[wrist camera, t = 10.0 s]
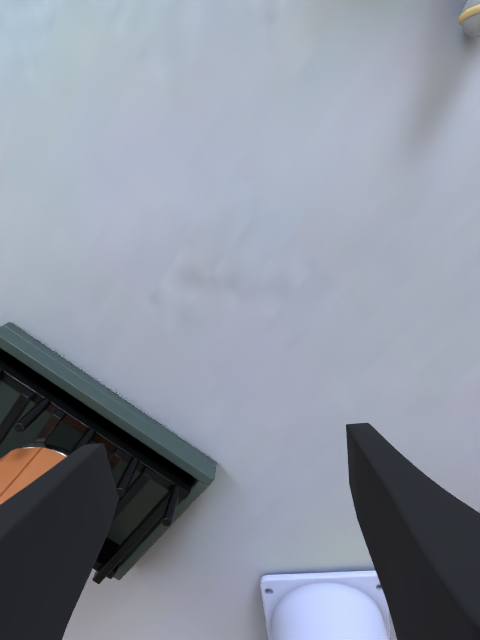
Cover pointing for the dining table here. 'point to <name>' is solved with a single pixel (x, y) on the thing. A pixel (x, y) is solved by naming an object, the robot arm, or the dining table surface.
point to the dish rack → (94, 428)
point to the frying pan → (471, 18)
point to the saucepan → (26, 466)
